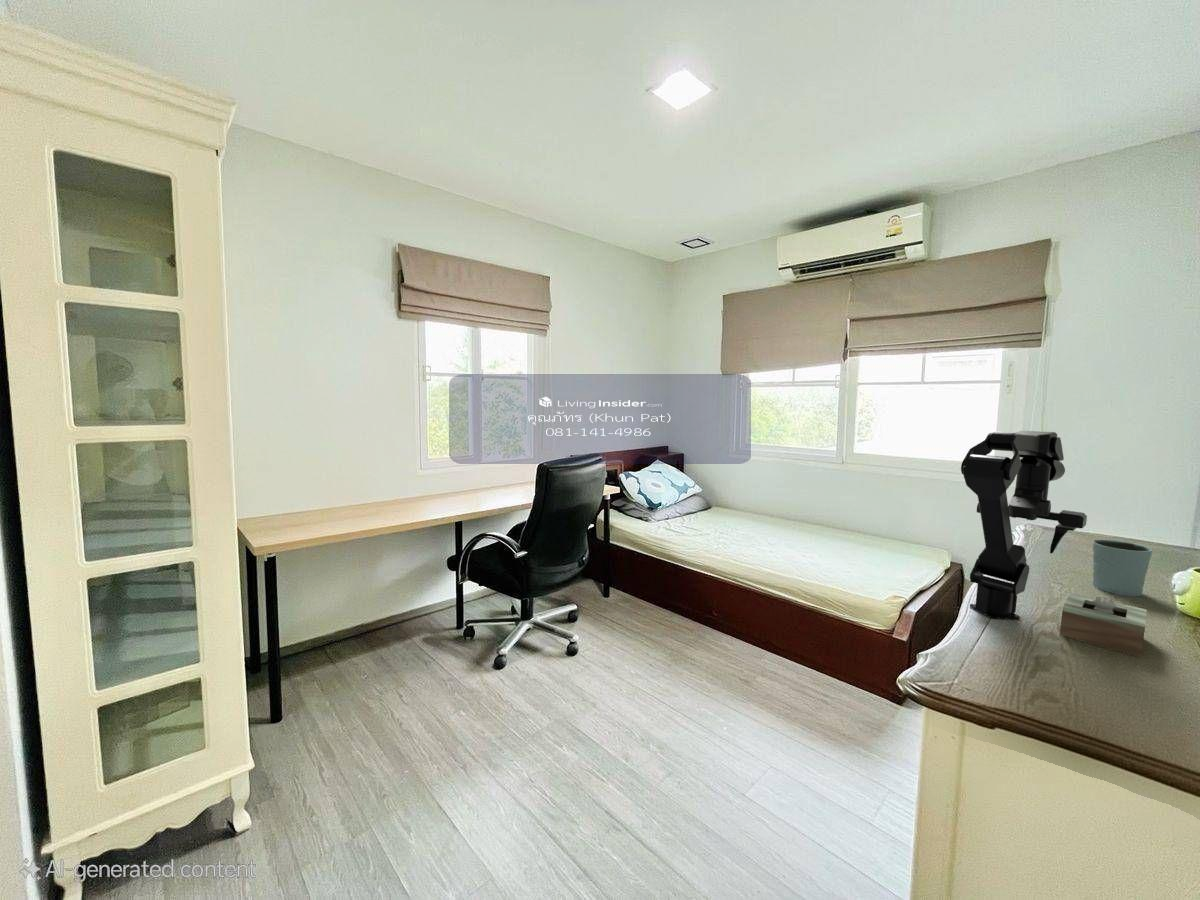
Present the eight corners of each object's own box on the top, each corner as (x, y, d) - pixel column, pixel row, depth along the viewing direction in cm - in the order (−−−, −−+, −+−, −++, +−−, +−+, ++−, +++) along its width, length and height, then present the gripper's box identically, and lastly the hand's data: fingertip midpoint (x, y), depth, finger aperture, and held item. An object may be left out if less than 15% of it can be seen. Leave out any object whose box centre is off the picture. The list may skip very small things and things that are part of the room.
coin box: (1140, 657, 87) (1145, 627, 87) (1059, 634, 96) (1062, 606, 95) (1142, 637, 95) (1146, 609, 94) (1067, 618, 103) (1070, 592, 103)
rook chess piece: (1123, 643, 93) (1127, 604, 92) (1095, 640, 94) (1100, 602, 93) (1105, 632, 97) (1109, 595, 96) (1079, 629, 98) (1083, 593, 97)
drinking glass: (1154, 594, 118) (1160, 548, 116) (1133, 600, 114) (1140, 552, 113) (1099, 580, 127) (1104, 537, 126) (1079, 585, 123) (1084, 541, 122)
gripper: (972, 481, 112) (966, 544, 114) (1082, 494, 98) (1074, 566, 99) (986, 477, 119) (980, 536, 121) (1090, 488, 104) (1082, 555, 106)
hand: (1025, 548), depth 112 cm, fingers open, 9 cm apart
